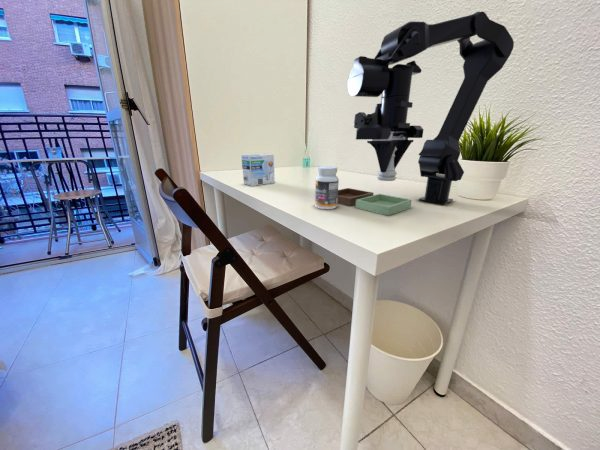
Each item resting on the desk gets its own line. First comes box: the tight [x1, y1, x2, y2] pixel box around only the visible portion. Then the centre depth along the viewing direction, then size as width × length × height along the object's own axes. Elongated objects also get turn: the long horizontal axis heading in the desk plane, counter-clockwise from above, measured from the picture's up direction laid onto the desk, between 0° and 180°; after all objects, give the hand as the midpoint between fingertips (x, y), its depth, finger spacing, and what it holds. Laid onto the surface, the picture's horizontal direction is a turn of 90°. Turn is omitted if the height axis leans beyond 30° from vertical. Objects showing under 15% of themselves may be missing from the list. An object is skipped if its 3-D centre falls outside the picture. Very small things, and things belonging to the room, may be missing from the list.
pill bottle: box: [314, 165, 340, 210], centre depth 61 cm, size 6×6×10 cm
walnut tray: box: [337, 187, 374, 207], centre depth 69 cm, size 10×9×2 cm
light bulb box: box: [240, 153, 276, 187], centre depth 93 cm, size 11×7×11 cm, turn 132°
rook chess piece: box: [376, 146, 398, 182], centre depth 57 cm, size 4×4×8 cm
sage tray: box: [355, 193, 413, 216], centre depth 61 cm, size 10×9×2 cm
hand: (387, 171), depth 58 cm, fingers closed on rook chess piece, 3 cm apart
